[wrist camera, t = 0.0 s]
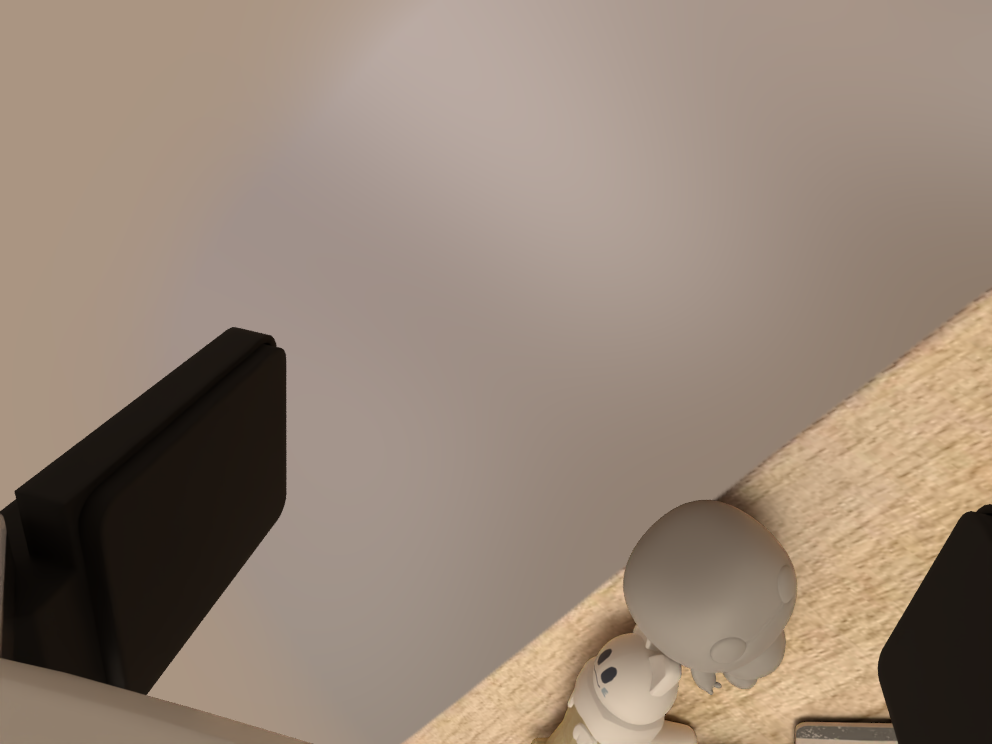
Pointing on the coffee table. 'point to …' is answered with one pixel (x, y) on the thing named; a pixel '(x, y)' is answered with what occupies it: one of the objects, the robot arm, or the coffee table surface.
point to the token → (844, 733)
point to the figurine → (712, 592)
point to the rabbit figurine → (624, 697)
